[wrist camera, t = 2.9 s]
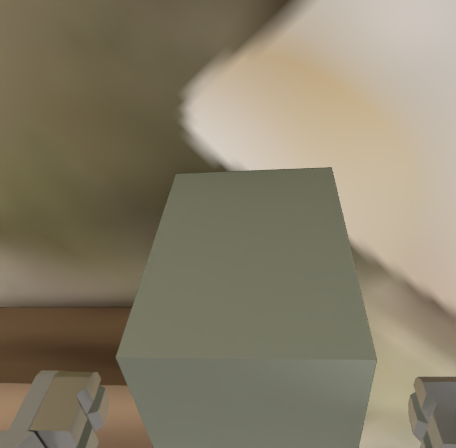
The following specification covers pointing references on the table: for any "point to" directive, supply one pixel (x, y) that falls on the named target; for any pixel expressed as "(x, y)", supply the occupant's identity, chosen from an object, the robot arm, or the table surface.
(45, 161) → the table surface
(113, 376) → the walnut block
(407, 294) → the table surface
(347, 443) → the sage block
